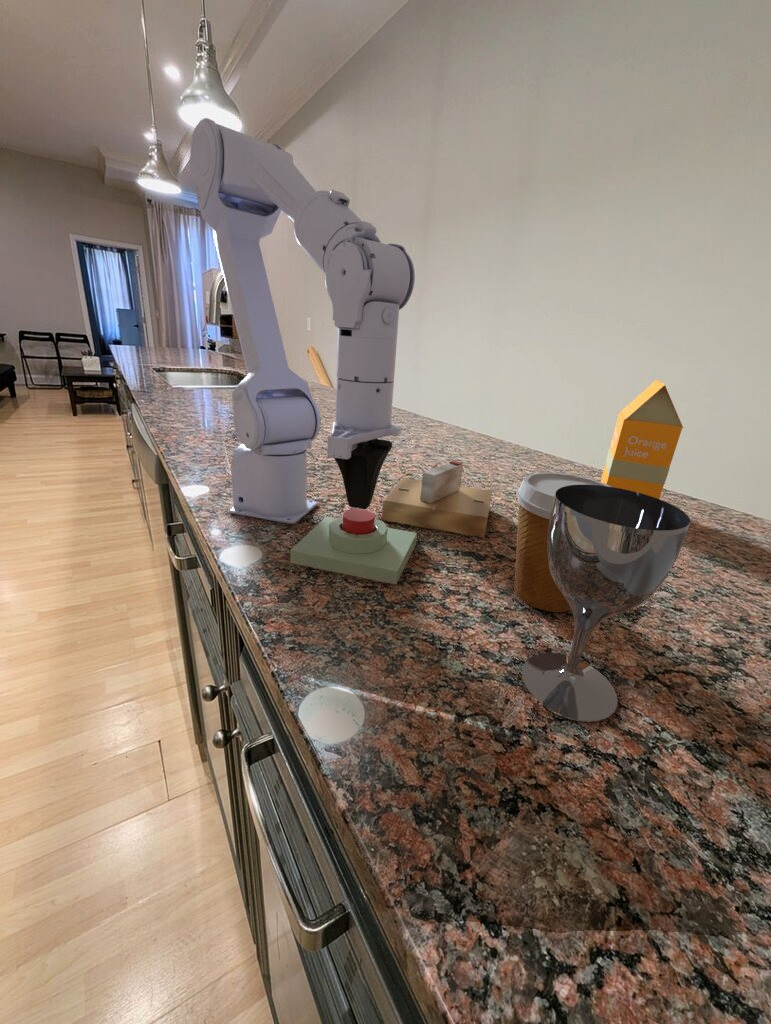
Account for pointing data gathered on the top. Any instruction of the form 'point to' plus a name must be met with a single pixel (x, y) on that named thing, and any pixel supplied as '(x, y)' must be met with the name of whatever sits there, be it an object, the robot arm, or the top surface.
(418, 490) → the wooden base
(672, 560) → the wine glass
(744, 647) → the top surface
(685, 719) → the top surface
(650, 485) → the orange juice
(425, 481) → the grey rectangular block
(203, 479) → the top surface
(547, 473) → the disposable coffee cup
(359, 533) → the button
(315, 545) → the button block
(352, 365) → the robot arm
